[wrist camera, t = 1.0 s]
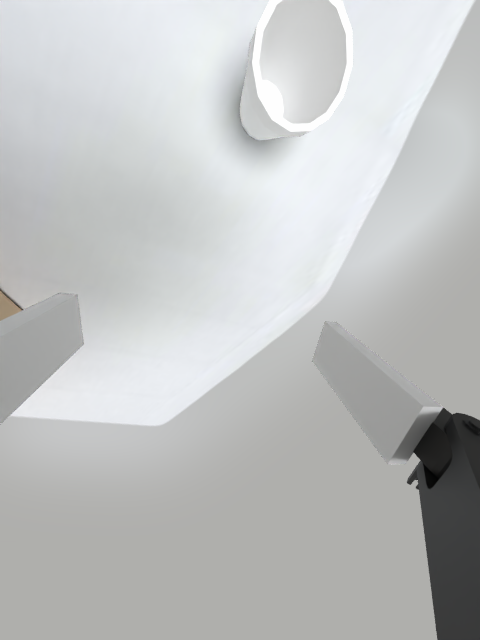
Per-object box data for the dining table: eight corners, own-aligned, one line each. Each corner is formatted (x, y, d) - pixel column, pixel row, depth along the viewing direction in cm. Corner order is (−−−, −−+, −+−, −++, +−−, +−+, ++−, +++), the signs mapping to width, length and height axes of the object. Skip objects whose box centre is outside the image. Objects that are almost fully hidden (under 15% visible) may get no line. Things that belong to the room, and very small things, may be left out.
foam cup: (266, 168, 34) (305, 155, 23) (215, 120, 30) (231, 76, 19) (306, 103, 31) (372, 51, 20) (255, 40, 27) (302, -66, 16)
